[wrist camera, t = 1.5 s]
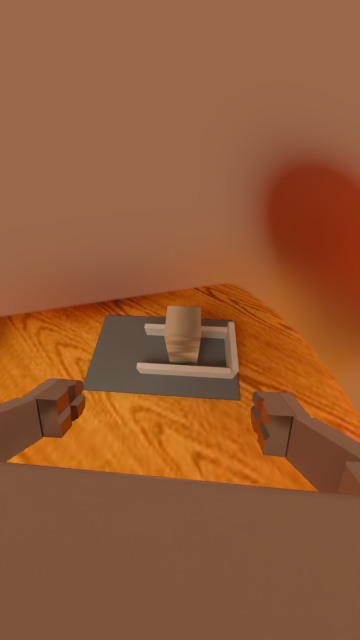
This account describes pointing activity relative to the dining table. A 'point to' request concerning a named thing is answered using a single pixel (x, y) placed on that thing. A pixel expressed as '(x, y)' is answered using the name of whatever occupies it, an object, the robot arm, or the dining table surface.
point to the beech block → (183, 334)
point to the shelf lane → (163, 360)
